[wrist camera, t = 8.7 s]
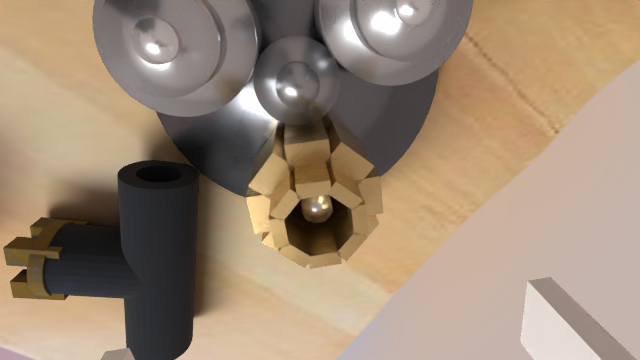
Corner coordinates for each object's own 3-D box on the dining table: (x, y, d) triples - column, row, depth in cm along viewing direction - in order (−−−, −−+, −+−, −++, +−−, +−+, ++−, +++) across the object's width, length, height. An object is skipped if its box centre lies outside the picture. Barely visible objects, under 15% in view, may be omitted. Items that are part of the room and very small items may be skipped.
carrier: (104, -72, 20) (-28, -143, 12) (430, -118, 21) (529, -220, 12) (195, 216, 28) (154, 299, 19) (433, 178, 28) (495, 243, 20)
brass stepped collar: (245, 129, 24) (228, 170, 18) (360, 112, 25) (388, 144, 18) (267, 229, 28) (260, 296, 21) (369, 213, 28) (396, 274, 21)
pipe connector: (19, 363, 26) (-22, 173, 20) (60, 310, 31) (37, 144, 25) (184, 368, 28) (189, 194, 22) (198, 317, 33) (205, 164, 27)
